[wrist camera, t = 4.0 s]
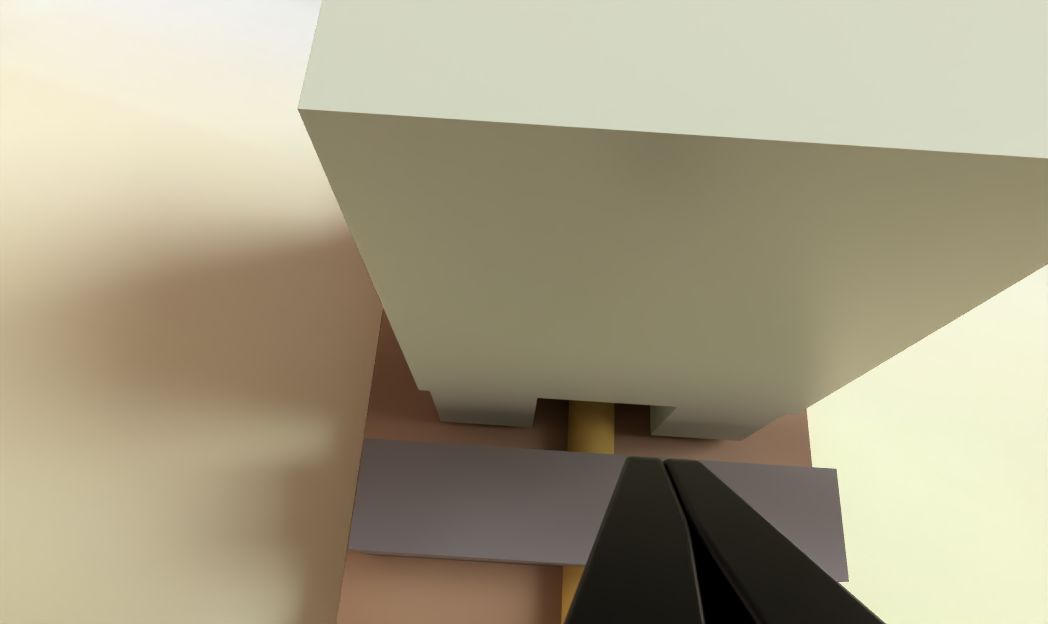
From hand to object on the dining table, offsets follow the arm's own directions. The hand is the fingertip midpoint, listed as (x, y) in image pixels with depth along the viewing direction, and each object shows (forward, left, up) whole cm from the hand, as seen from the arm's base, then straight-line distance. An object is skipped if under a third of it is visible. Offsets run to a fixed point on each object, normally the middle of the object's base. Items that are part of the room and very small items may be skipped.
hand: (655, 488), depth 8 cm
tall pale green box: (+5, +2, -7) cm, 8 cm away
